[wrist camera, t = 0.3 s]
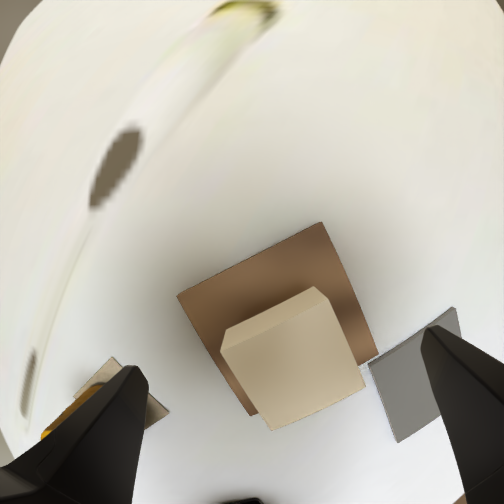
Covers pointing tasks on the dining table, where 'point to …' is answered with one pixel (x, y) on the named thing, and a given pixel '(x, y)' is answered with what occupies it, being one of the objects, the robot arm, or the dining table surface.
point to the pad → (409, 382)
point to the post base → (276, 296)
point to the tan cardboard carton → (292, 359)
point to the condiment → (94, 384)
